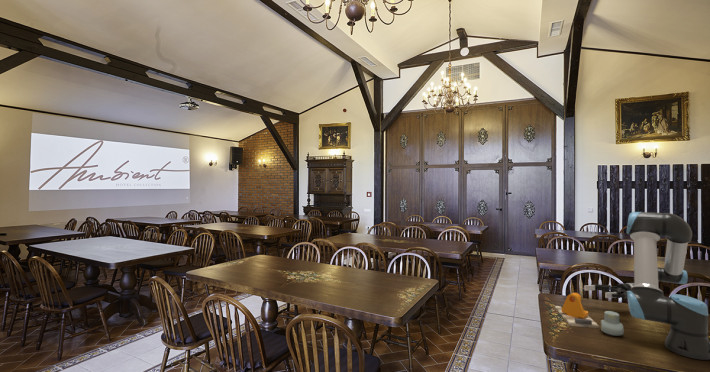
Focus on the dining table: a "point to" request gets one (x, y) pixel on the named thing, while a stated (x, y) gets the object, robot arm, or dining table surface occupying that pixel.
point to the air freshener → (611, 324)
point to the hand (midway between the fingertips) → (594, 291)
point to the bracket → (574, 306)
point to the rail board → (572, 320)
